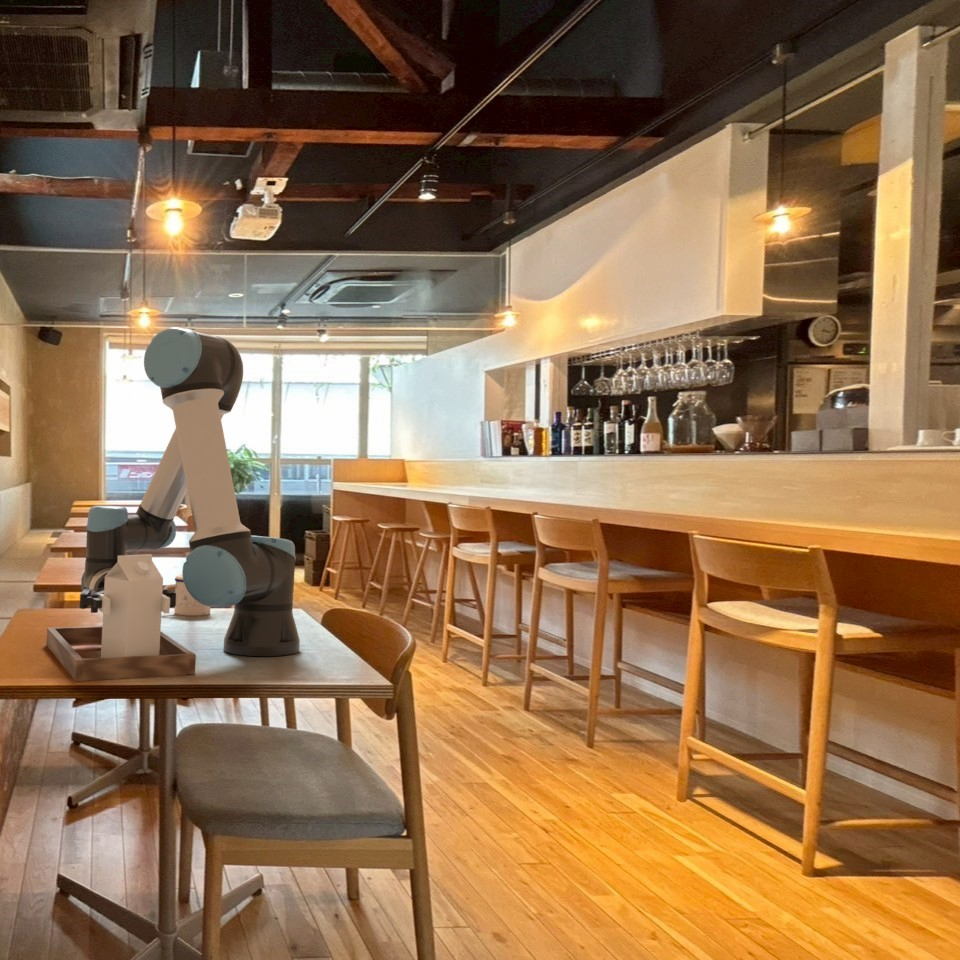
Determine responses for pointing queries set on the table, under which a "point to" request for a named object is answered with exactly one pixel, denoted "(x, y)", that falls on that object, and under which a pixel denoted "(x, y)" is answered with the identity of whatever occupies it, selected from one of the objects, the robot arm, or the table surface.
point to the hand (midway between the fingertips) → (138, 606)
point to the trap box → (90, 638)
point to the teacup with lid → (186, 600)
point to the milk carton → (132, 608)
